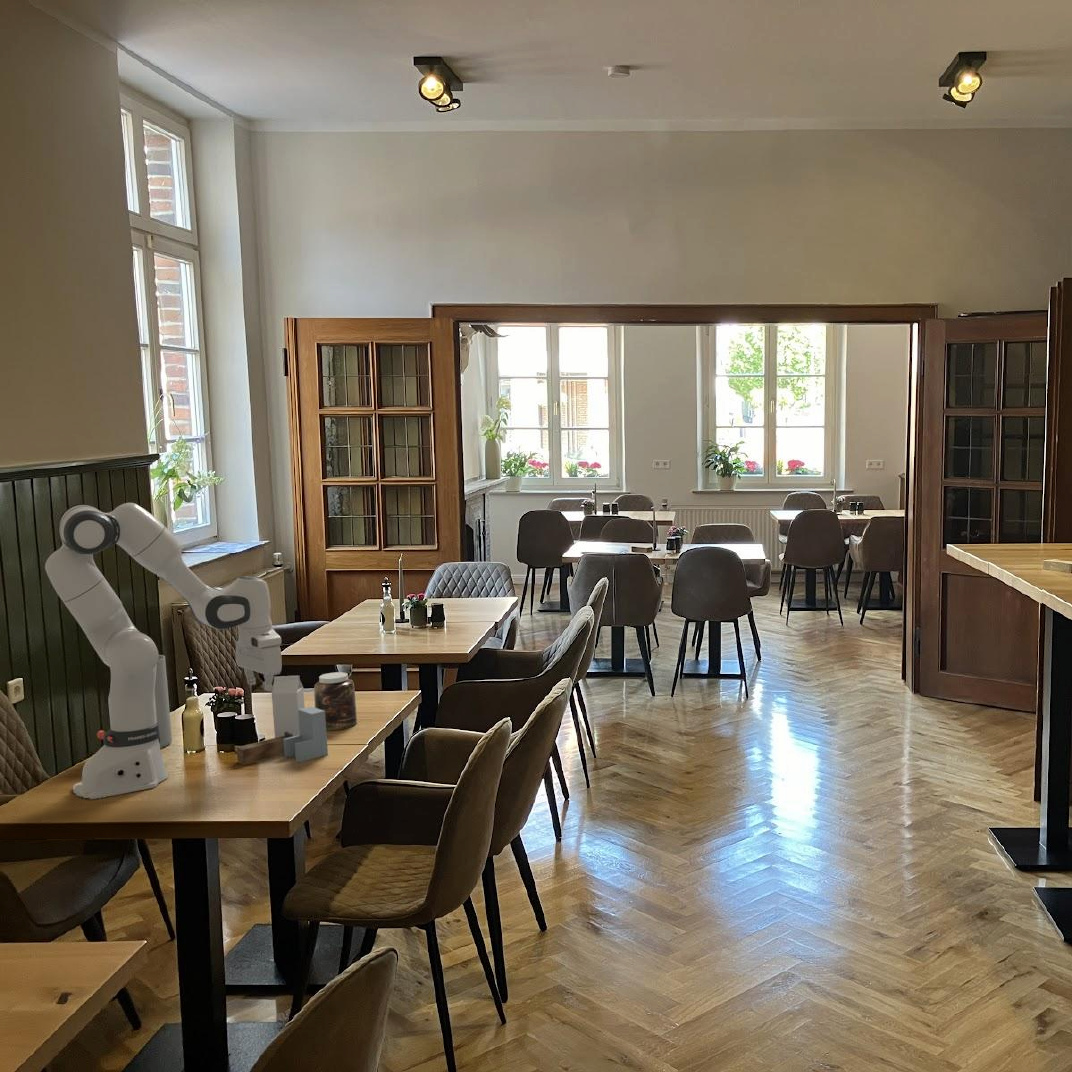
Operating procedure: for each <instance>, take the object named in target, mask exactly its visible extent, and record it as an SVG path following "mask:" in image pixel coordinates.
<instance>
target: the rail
mask: <svg viewBox="0 0 1072 1072" xmlns="http://www.w3.org/2000/svg"><path fill="white" fill-rule="evenodd" d="M284 735H285V736H281V737H277V738H275V737H273V738H269V739H266V740H261V741H257V742H253V743H248V744H245V745H241V746H236V757H237V763H239V764H241V765H249V764H252V763H255V762H259V761H263V760H268V759H271V758H275V757H278V756H282V755H283V756H284V744H283V739H285V738H289V737H293V734H291V733H288V732H284Z"/></svg>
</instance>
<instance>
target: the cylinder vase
mask: <svg viewBox="0 0 1072 1072" xmlns="http://www.w3.org/2000/svg"><path fill="white" fill-rule="evenodd" d="M158 655H159V657H158V662H157V665H156V680H155V706H156V718H157V722H158V723H159V728H160V749H162V748H165V747H167V746H168V745H170V744H171V743H172V742H173V735H172V726H171V713H170V712H171V711H170V701H169V700H170V699H169V689H168V688H169V687H168V679H167V666H166V655H163V654H158Z"/></svg>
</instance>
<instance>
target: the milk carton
mask: <svg viewBox="0 0 1072 1072" xmlns="http://www.w3.org/2000/svg"><path fill="white" fill-rule="evenodd" d="M271 690H272V691H271V702H272V714H273V729H274V738H277V737H281V736H285V735H284V732H288V733H291V734H293V736H297V735H300V729H299V715H298V709H303V708H306V706H305V697H304V695H305V694H304V686H303V684H302V681H301V679H300V675H287V676H286V675H285V676H284V675H283V676H282V675H281V676H274V678H273V683H272V689H271Z"/></svg>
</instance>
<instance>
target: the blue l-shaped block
mask: <svg viewBox="0 0 1072 1072" xmlns="http://www.w3.org/2000/svg"><path fill="white" fill-rule="evenodd" d="M298 715H299V729H300V735H297V736H293V737H289V738H285V739H283V744H284V755H283V756H284V758H287V759H288V758H291V757H295V762H296V763H301V762H306V761H309V760H313V759H317V758H321V757H324V756H327V755H329V753H328V737H327V736H328V735H327V730H326V720H325V711H323V710H320V709H317V708H315V706H308V707H305V708H303V709H298Z"/></svg>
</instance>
